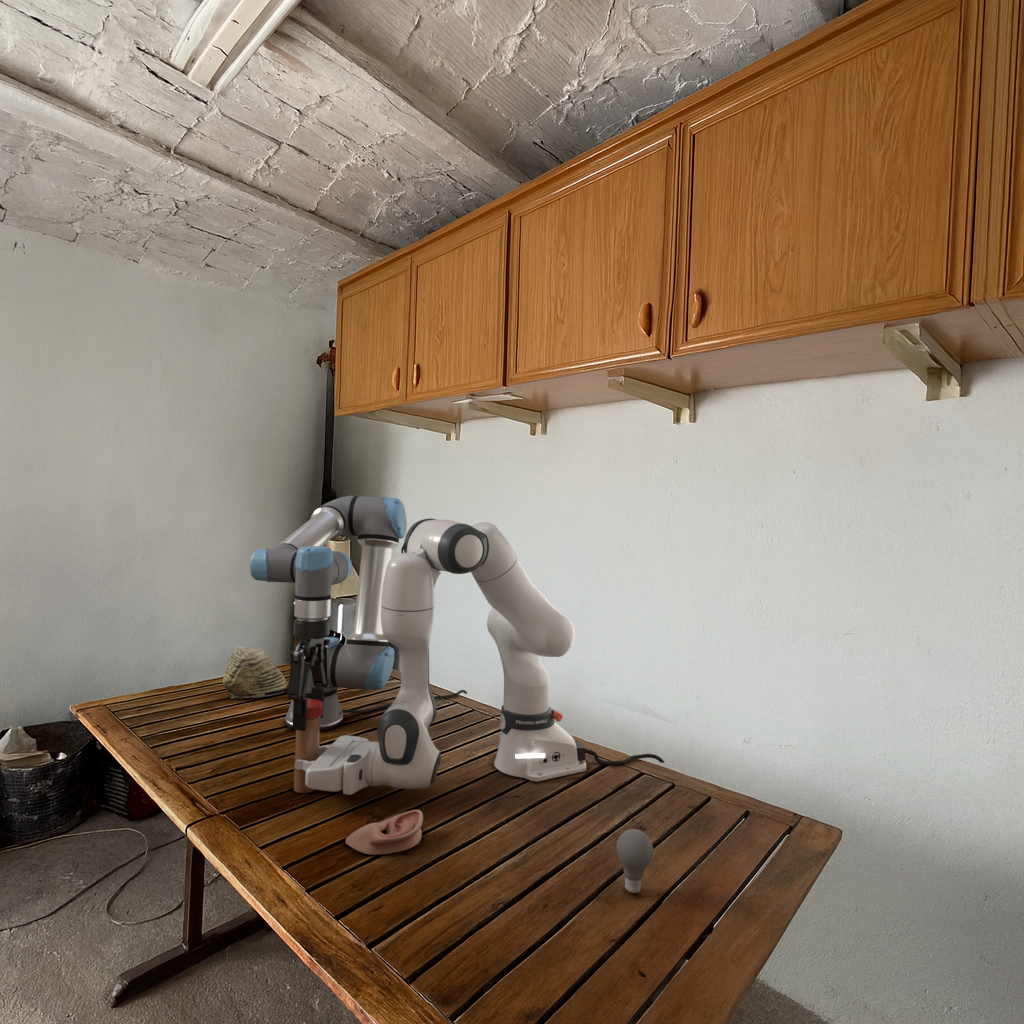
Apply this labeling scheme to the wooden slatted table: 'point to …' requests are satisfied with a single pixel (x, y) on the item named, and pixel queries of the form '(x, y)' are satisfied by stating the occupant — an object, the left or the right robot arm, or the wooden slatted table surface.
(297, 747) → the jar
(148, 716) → the wooden slatted table surface
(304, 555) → the left robot arm
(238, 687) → the fossil
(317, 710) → the lid
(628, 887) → the light bulb
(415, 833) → the anatomical model
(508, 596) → the right robot arm
